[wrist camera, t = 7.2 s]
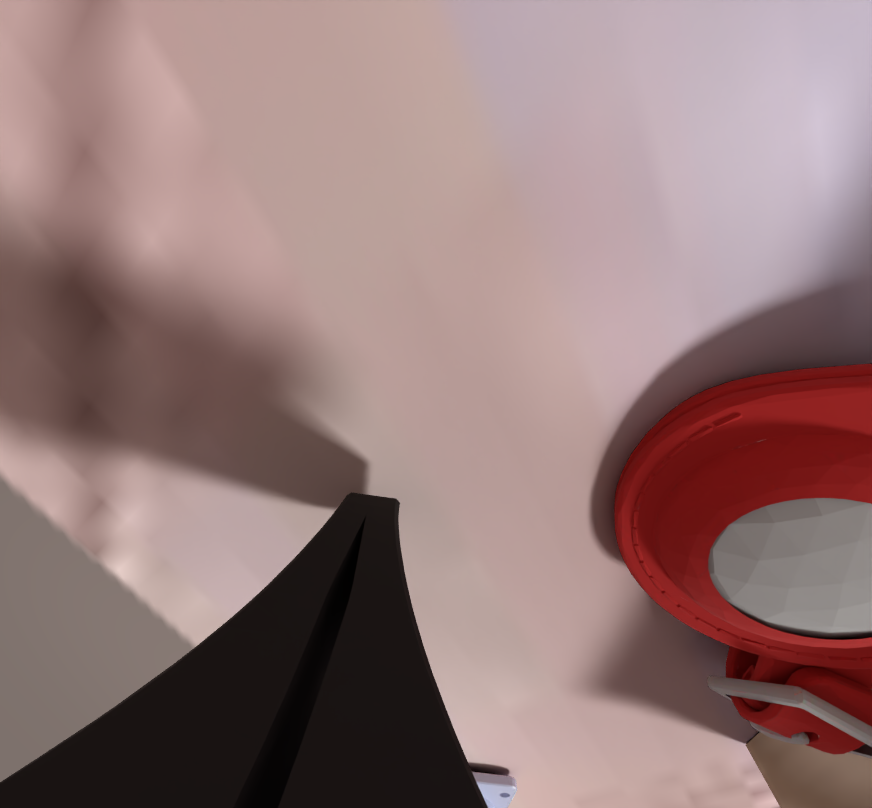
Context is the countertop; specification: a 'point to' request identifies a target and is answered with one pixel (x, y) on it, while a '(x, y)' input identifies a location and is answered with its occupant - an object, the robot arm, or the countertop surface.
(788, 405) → the tracker holder
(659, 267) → the countertop surface
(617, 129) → the countertop surface
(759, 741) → the wall board
